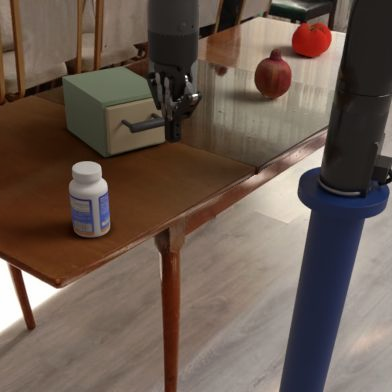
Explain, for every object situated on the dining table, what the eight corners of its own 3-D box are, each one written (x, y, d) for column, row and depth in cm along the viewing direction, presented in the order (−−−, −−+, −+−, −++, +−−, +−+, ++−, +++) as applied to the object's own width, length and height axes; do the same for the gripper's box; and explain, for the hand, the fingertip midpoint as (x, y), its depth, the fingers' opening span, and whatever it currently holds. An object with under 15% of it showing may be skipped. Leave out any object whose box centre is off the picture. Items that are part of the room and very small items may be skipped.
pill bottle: (102, 216, 95) (98, 155, 89) (116, 233, 91) (112, 171, 85) (67, 224, 93) (61, 162, 86) (80, 242, 89) (74, 178, 83)
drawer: (178, 149, 112) (179, 105, 107) (123, 163, 107) (121, 118, 102) (127, 116, 123) (126, 75, 118) (75, 127, 117) (71, 85, 112)
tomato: (287, 56, 158) (290, 28, 154) (294, 45, 166) (298, 18, 162) (325, 61, 156) (330, 33, 152) (331, 49, 164) (336, 22, 160)
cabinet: (164, 142, 116) (164, 89, 110) (104, 157, 110) (101, 102, 104) (124, 116, 125) (122, 66, 119) (67, 129, 119) (61, 76, 113)
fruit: (272, 89, 140) (278, 41, 133) (296, 100, 135) (303, 51, 129) (244, 95, 136) (248, 46, 130) (268, 107, 132) (273, 57, 125)
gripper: (220, 33, 89) (214, 150, 100) (169, 12, 97) (169, 122, 108) (176, 40, 86) (175, 161, 97) (127, 18, 94) (132, 131, 105)
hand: (172, 140), depth 103 cm, fingers closed
